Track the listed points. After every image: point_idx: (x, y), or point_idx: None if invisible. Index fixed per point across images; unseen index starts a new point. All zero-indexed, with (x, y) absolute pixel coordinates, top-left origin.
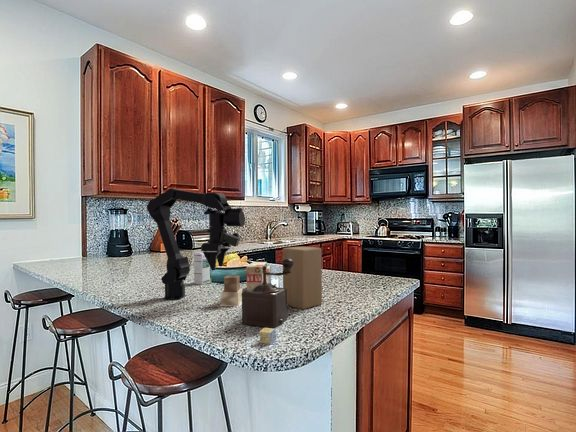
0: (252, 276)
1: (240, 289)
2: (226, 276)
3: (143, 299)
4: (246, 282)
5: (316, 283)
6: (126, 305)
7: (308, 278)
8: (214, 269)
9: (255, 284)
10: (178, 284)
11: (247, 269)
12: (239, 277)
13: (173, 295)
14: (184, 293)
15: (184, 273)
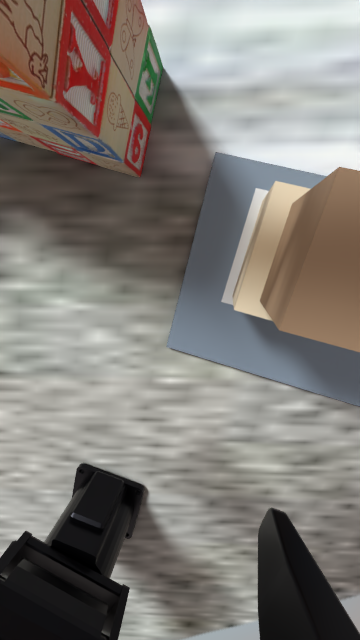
0: (77, 25)
1: (299, 196)
2: (356, 342)
3: (117, 581)
4: (100, 138)
5: None
6: (192, 623)
7: None
8: (290, 523)
9: (120, 53)
10: (100, 552)
11: (5, 32)
12: (334, 175)
13: (129, 518)
14: (98, 480)
15: (61, 607)
